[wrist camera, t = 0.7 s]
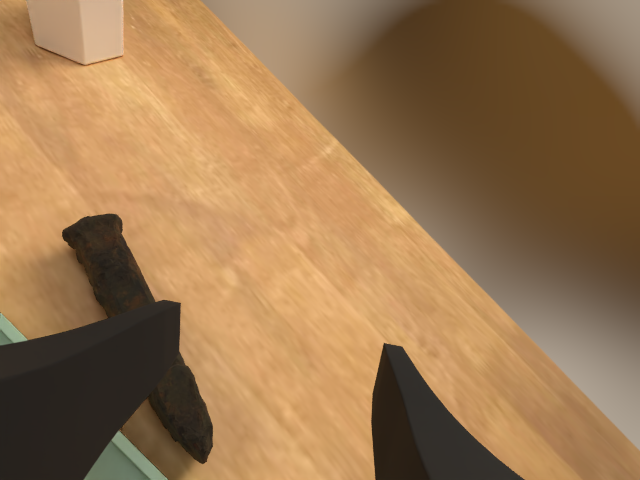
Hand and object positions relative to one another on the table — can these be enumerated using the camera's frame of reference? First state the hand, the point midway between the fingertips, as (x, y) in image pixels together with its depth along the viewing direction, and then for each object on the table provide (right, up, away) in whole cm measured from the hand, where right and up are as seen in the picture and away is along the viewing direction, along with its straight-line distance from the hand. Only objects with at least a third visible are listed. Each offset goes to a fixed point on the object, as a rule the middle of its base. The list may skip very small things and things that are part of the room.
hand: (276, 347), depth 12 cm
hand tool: (-12, -4, +15) cm, 20 cm away
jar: (-25, +25, +27) cm, 44 cm away
